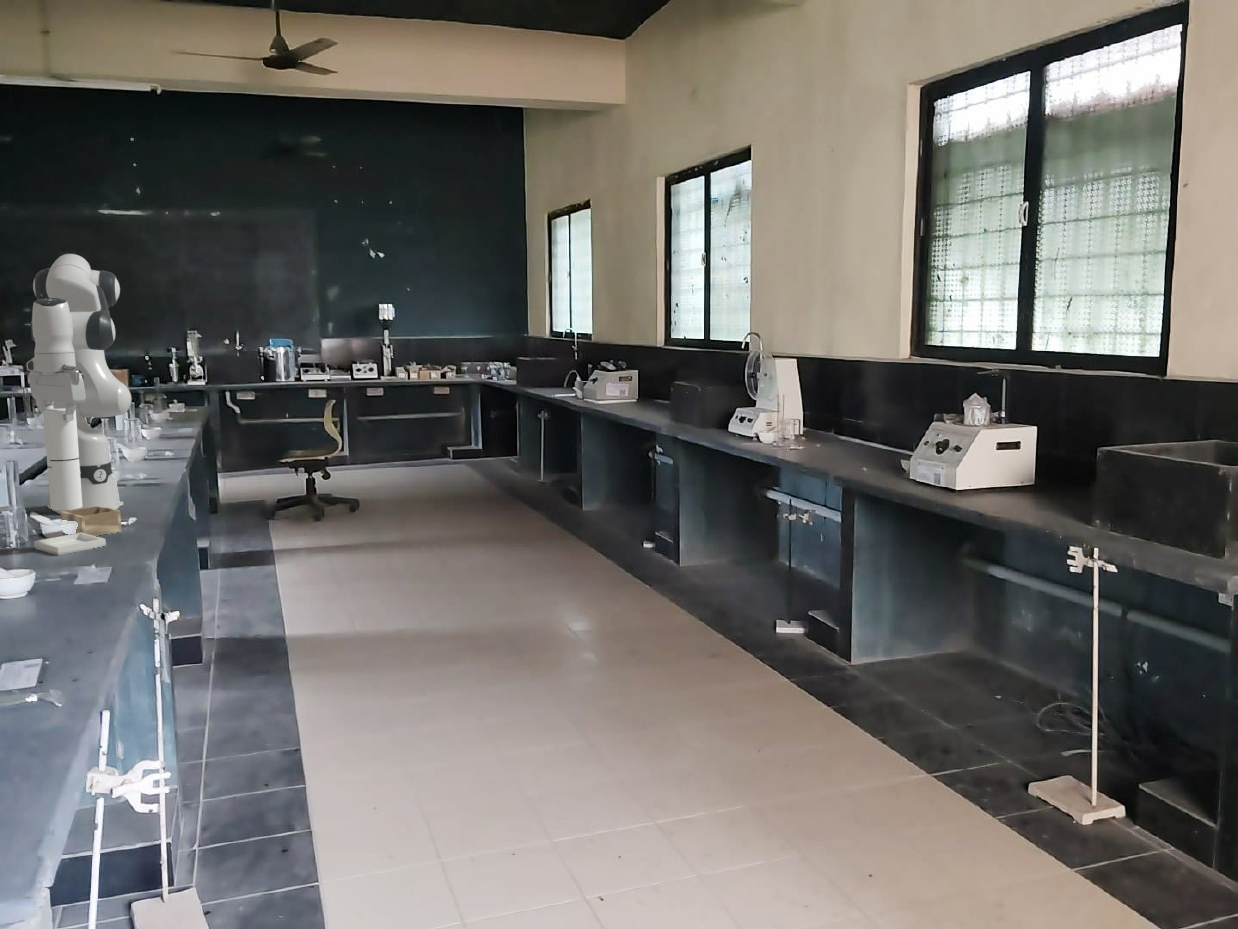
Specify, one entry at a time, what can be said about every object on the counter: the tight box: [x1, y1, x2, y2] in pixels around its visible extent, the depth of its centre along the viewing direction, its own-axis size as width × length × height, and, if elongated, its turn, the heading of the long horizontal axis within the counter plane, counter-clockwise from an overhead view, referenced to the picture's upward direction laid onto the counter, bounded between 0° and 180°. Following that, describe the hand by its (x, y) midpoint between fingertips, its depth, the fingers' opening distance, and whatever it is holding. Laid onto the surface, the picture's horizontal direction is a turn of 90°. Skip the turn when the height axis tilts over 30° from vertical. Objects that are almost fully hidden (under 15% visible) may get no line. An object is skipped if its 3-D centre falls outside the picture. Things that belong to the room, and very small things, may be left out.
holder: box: [60, 506, 123, 537], centre depth 276 cm, size 11×11×6 cm
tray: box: [33, 533, 107, 556], centre depth 260 cm, size 12×12×2 cm
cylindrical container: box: [42, 408, 82, 511], centre depth 257 cm, size 7×7×25 cm
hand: (60, 419), depth 255 cm, fingers closed on cylindrical container, 7 cm apart
